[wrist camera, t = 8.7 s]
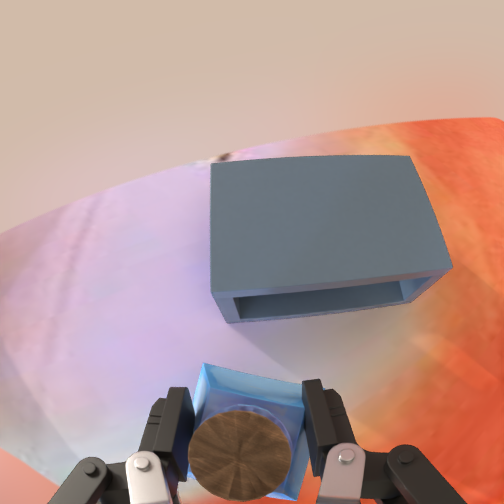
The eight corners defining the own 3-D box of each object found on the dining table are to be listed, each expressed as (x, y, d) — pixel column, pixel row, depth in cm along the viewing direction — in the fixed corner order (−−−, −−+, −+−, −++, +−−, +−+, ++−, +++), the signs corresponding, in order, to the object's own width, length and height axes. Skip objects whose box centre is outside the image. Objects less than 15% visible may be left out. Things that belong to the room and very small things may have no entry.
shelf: (226, 323, 25) (210, 292, 18) (223, 218, 29) (210, 163, 22) (411, 302, 24) (453, 267, 18) (384, 207, 29) (409, 155, 22)
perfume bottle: (309, 391, 19) (358, 381, 9) (288, 473, 17) (312, 549, 6) (220, 372, 20) (168, 341, 10) (199, 453, 18) (127, 504, 7)
